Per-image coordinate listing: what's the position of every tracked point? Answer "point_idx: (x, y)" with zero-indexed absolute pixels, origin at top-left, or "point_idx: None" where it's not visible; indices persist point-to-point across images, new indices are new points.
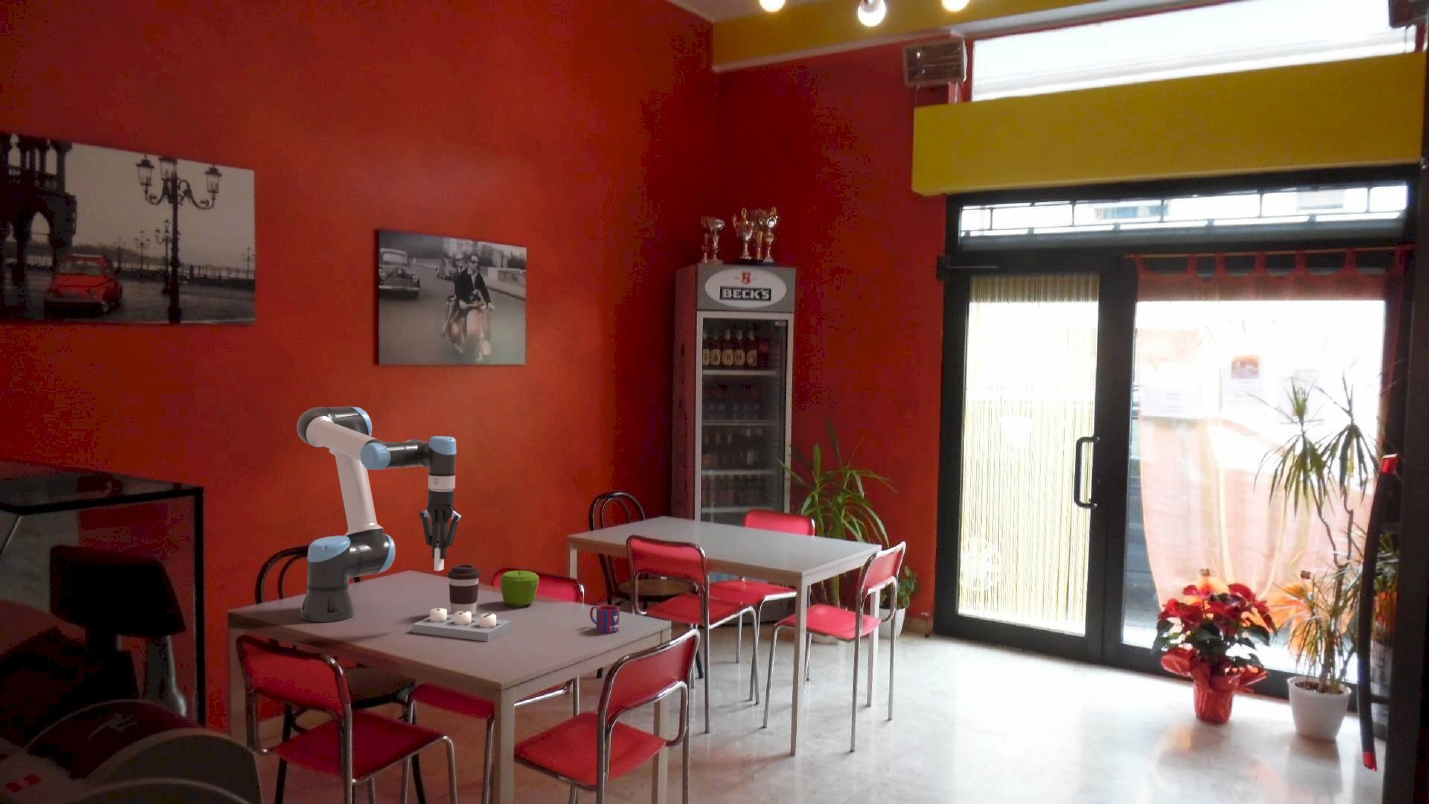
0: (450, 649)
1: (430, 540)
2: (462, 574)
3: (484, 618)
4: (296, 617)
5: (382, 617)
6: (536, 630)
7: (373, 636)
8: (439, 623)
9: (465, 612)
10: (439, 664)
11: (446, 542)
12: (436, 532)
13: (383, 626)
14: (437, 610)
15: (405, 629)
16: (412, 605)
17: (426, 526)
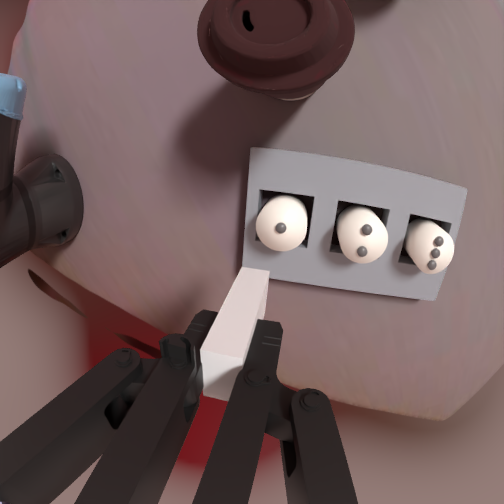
0: (368, 349)
1: (126, 394)
2: (295, 75)
3: (430, 273)
4: None
5: (122, 167)
6: (500, 187)
7: (190, 303)
8: (303, 253)
9: (369, 232)
10: (367, 402)
11: (288, 453)
12: (161, 486)
13: (163, 233)
14: (280, 232)
15: (218, 244)
16: (129, 51)
17: (66, 481)
